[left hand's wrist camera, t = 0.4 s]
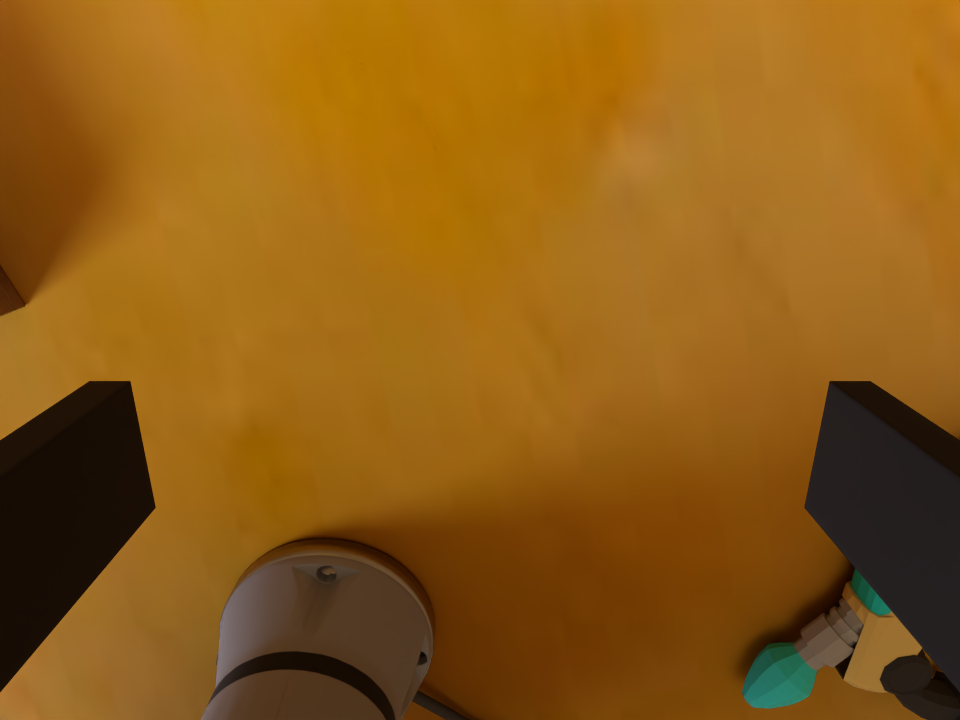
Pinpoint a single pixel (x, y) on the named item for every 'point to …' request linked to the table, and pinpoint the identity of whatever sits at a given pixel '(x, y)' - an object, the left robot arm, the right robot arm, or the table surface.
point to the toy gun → (853, 659)
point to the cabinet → (8, 296)
